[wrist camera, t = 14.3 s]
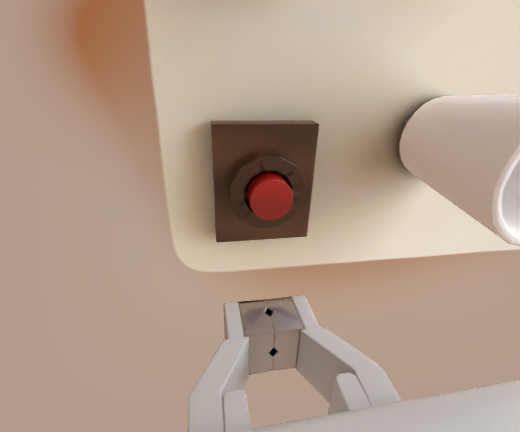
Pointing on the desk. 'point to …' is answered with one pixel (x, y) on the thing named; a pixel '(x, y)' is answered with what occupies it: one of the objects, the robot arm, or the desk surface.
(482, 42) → the desk surface
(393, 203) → the desk surface
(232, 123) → the button block
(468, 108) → the cup
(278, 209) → the button
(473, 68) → the desk surface
